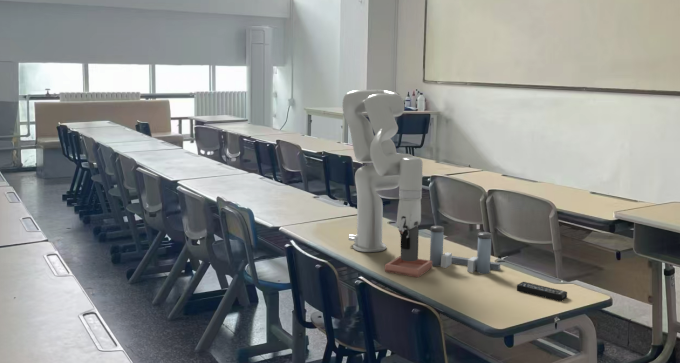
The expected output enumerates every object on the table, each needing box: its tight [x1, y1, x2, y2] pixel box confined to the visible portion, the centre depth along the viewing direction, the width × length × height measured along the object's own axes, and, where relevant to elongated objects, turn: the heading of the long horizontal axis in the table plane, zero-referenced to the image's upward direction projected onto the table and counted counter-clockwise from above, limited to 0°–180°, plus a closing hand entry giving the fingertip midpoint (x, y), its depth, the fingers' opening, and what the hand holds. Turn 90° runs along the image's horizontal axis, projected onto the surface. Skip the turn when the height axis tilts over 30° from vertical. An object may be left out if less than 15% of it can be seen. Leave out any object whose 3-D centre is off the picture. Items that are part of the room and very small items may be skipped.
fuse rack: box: [429, 225, 501, 274], centre depth 235 cm, size 25×8×13 cm, turn 60°
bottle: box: [400, 217, 420, 261], centre depth 230 cm, size 6×6×15 cm
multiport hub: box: [516, 281, 568, 302], centre depth 208 cm, size 4×14×2 cm, turn 49°
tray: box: [384, 255, 433, 278], centre depth 232 cm, size 12×12×2 cm
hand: (409, 246), depth 230 cm, fingers closed on bottle, 5 cm apart
